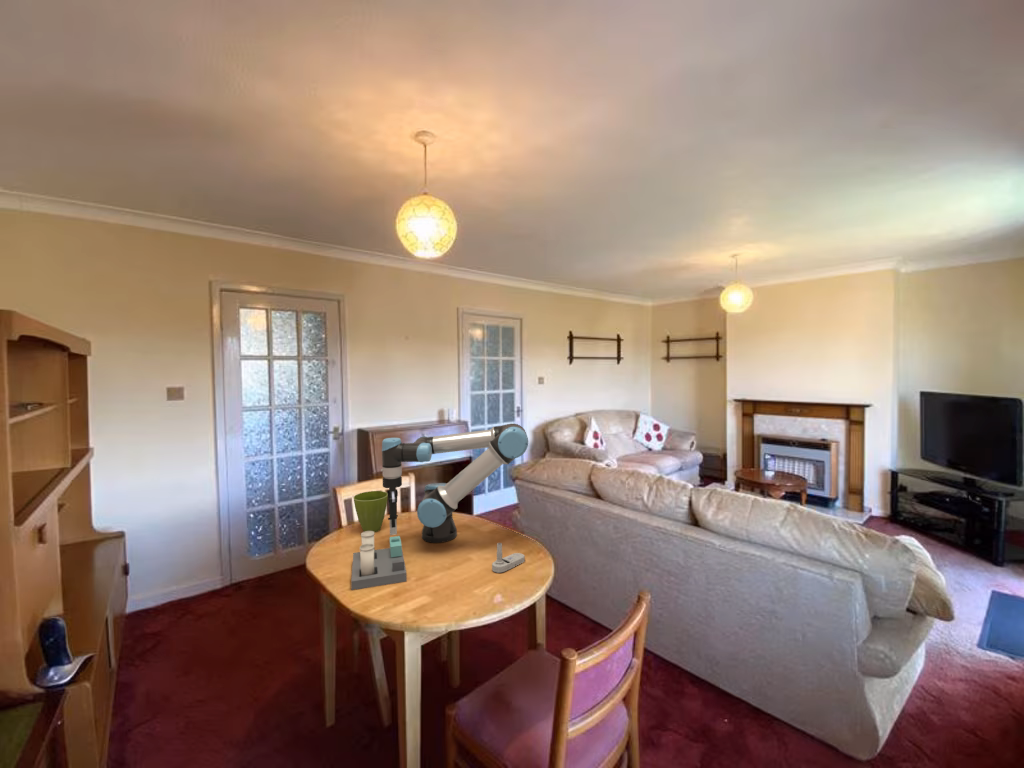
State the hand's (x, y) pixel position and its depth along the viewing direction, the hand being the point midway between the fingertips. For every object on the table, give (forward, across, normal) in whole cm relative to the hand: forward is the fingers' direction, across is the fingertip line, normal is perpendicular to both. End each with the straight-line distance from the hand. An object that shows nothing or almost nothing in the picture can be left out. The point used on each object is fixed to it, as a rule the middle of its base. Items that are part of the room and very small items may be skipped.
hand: (393, 534), depth 181 cm
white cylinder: (+7, +11, -10) cm, 16 cm away
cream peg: (+7, +24, -10) cm, 26 cm away
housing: (+7, +17, -6) cm, 19 cm away
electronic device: (+7, +30, +40) cm, 50 cm away
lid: (+3, +10, 0) cm, 11 cm away
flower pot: (+7, -26, -8) cm, 28 cm away
